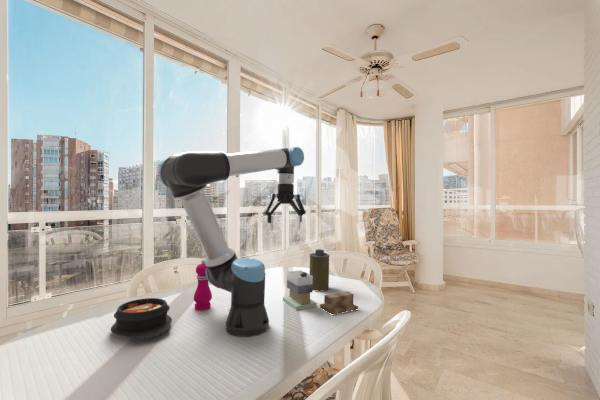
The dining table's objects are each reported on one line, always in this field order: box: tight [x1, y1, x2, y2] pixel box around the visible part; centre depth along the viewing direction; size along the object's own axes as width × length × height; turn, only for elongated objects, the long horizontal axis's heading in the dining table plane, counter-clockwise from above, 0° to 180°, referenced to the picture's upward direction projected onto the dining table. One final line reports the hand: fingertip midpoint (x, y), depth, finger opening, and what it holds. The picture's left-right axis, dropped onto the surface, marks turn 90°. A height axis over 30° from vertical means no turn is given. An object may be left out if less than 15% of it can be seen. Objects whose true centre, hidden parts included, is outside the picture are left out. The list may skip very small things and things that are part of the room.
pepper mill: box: [193, 259, 213, 311], centre depth 123 cm, size 7×7×20 cm
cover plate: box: [286, 270, 313, 286], centre depth 130 cm, size 11×7×5 cm, turn 28°
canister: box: [309, 248, 330, 292], centre depth 154 cm, size 11×10×20 cm
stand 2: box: [319, 291, 359, 315], centre depth 125 cm, size 13×9×6 cm
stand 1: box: [282, 288, 318, 311], centre depth 130 cm, size 10×13×6 cm
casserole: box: [110, 297, 173, 341], centre depth 102 cm, size 25×19×8 cm
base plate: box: [286, 279, 314, 294], centre depth 130 cm, size 11×7×4 cm, turn 28°
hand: (284, 229), depth 136 cm, fingers open, 13 cm apart
